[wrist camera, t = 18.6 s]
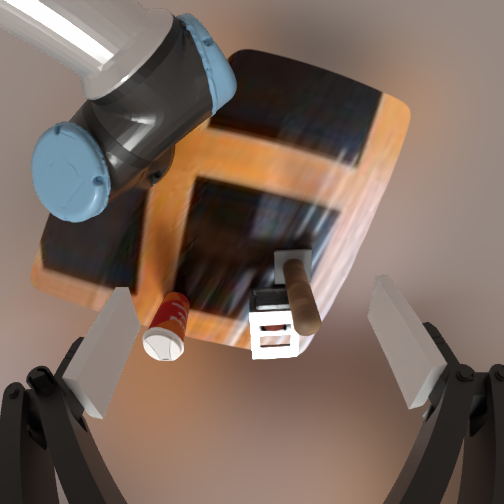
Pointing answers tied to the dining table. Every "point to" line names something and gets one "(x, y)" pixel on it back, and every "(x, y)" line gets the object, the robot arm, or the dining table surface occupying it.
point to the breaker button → (274, 327)
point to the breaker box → (271, 322)
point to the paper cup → (168, 328)
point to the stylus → (301, 299)
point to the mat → (285, 255)
